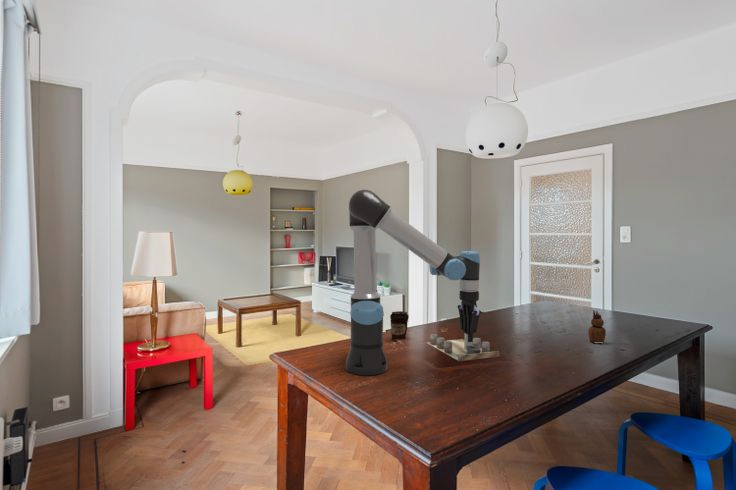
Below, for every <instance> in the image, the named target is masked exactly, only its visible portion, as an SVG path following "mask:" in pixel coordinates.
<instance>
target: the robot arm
mask: <svg viewBox="0 0 736 490" xmlns="http://www.w3.org/2000/svg"><path fill="white" fill-rule="evenodd" d="M348 214H349V215H348V216H349V219H348V220H349V222H348V223H349V228H350V229H351V230H352V231H353V276H354V277H353V278H354V279H353V280H354V281H353V283H354V284H353V285H354V286H353V287H354V288H353V289H354V291H353V293H352V294H351V295H350V348H349V351H348V354H347V357H346V360H345V370H346V371H347V372H349V373H350V374H353V375H359V376H375V375H381V374H383V373H385V372H386V371H387V370H388V359H387V356H386V353H385V350H384V348H383V347H384V344H383V343H384V315H385V314H384V307H383V305H382V304H381V295H380V294H379V293H378V292H377V262H376V261H377V258H376V256H377V250H376V248H377V246H376V245H377V244H376V239H377V238H376V237H377V236H376V231H377V230H378V229H379V230H381V231H382V232H384V233H385V234H387V235H388V236H389V237H390V238H391V239H393V240H395V241H396V242H397V243H398V244H400V245H402V246H403V247H404V248H406V249H407V250H409V251H410V252H411V253H413V254H414V255H416V256H417V257H419V258H420V259H421V260H422V261H424V262H425V263H426V264H428V265H429V272H430V275H432V276H438V277H439V276H443V277H445V278H447V279H448V280H450V281H459V294H458V295H459V300H460V301H461V304H458V305H457V309H458V314H459V323H460V324H459V326H460V329H461V330H462V331H463V332H462V333H464V334H463V340H464V349H465V350H467V346H472V344H473V338H474V337H473V336H474V334H476V333H477V331H478V326H479V325H478V324H479V320H480V316H481V313H482V310H480V309H478V303H477V302H478V301H480V292H479V290H480V270H481V269H480V268H481V257H480V252H478V251H473V250H469V251H468V250H467V251H466V250H462V251H461V252H459V255H458V256H457V255H456V256H453V255H452V254H451V253H449V252H448V251H447V250H445V249H444V248H443V247H442V246H440V245H439V244H437V243H436V242H434V241H433V240H432V239H431V238H429V237H427V236H426V235H425V234H423V233H422V232H421V231H420V230H418V229H417V228H415V227H414V226H413V225H411V224H410V223H409V222H407V221H406V220H404V219H403V218H402V217H400V216H399V215H398V214H396V213H395V212H394V211H393V210H392V206H390V205H388V204H387V203H386V202H385V201H384V200H383V199H381V198H380V197H379V196H378V194H376V193H375V192H373V191H372V190H369V189H361V190H357V191H356V192H355V193H353V194H352V195H351V197H350V199H349V201H348Z"/></svg>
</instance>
